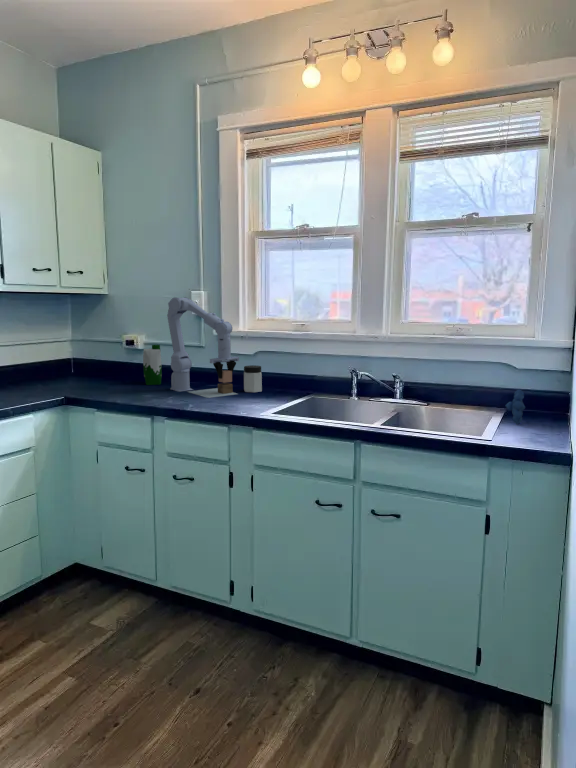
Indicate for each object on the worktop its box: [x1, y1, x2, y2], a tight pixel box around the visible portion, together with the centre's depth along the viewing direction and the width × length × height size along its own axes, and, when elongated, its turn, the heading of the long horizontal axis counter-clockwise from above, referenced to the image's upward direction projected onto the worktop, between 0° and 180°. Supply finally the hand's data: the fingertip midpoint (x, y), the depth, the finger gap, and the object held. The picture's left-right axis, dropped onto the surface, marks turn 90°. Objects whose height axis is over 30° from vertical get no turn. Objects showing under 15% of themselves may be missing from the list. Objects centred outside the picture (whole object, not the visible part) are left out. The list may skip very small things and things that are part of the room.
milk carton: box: [142, 344, 163, 386], centre depth 277 cm, size 9×9×20 cm
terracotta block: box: [218, 369, 233, 383], centre depth 249 cm, size 4×4×5 cm
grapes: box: [505, 388, 526, 425], centre depth 191 cm, size 12×7×12 cm, turn 156°
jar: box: [243, 364, 263, 393], centre depth 254 cm, size 9×8×12 cm
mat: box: [187, 387, 238, 399], centre depth 250 cm, size 20×16×1 cm
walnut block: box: [217, 382, 234, 394], centre depth 250 cm, size 5×5×4 cm
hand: (225, 377), depth 249 cm, fingers closed on terracotta block, 4 cm apart
